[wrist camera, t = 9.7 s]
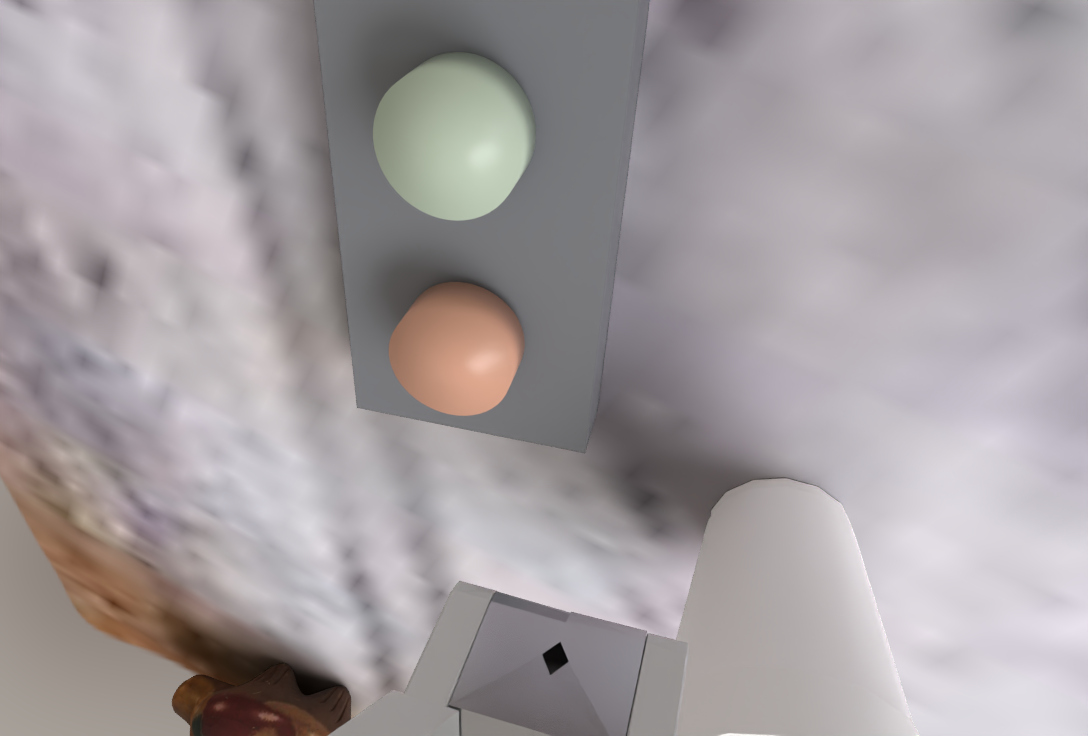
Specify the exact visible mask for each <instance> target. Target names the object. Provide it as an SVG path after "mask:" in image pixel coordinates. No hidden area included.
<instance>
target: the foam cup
mask: <svg viewBox="0 0 1088 736" xmlns="http://www.w3.org/2000/svg"><path fill="white" fill-rule="evenodd" d="M676 640H678V641H682V642H686V643H688V650H689V654H688V661H687V668H686V674H685V681H684V688H683V694H682V701H681V708H680V715H679V721H678V728H677V735H676V736H920V735H919V733H918V731H917V729H916V727H915V725H914V723H913V721H912V717H911V714H910V711H909V708H908V704H907V701H906V698H905V695H904V691H903V688H902V685H901V682H900V679H899V675H898V672H897V669H896V666H895V662H894V659H893V656H892V653H891V649H890V646H889V643H888V640H887V637H886V633H885V630H884V627H883V624H882V620H881V617H880V614H879V611H878V607H877V604H876V601H875V598H874V595H873V591H872V588H871V585H870V582H869V578H868V575H867V572H866V569H865V566H864V562H863V559H862V556H861V553H860V549H859V546H858V543H857V540H856V536H855V534H854V532H853V530H852V525H851V523H850V521H849V519H848V517H847V515H846V512H845V510H844V508H843V506H842V504H841V503H839V502H838V501H837V500H835V499H834V498H833V497H831V496H830V495H829V494H827V493H826V492H824V491H823V490H822V489H820V488H819V487H817V486H813V485H810V484H806V483H802V482H798V481H795V480H791V479H787V478H779V479H763V480H752V481H750V482H747V483H745V484H743V485H741V486H738V487H736V488H734V489H732V490H729V491H727V492H726V493H725V494H724V495H723V496H722V498H721V499H720V500H719V501H718V503H717V504H716V505H715V506H714V507H713V509H712V510H711V517H710V518H709V520H708V522H707V526H706V530H705V534H704V537H703V541H702V545H701V548H700V552H699V556H698V560H697V563H696V567H695V571H694V575H693V578H692V582H691V586H690V589H689V593H688V597H687V601H686V604H685V608H684V612H683V616H682V619H681V623H680V627H679V630H678V634H677V638H676Z"/></svg>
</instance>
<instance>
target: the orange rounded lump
mask: <svg viewBox="0 0 1088 736" xmlns="http://www.w3.org/2000/svg"><path fill="white" fill-rule="evenodd" d="M524 348H525V339H524V333H523V330H522V326H521V324H520V322H519V320H518V318H517V316H516V315H515V313H514V312H513V311H512V309H511V308H510V307H509V306H508V304H506V303H505V302H504V301H503V300H502V299H500V298H499V297H498V296H497V295H495V294H493V293H492V292H490V291H488V290H486V289H484V288H482V287H479V286H476V285H473V284H469V283H463V282H447V283H441V284H438V285H435V286H433V287H430V288H428V289H427V290H425V291H424V292H423V293H422V294H421V295H419V297H418V298H417V299H416V300H415V302H414V303H413V304H412V306H411V307H410V309H409V310H408V311H407V313H406V314H405V316H404V317H403V318H402V320H401V321H400V323H399V324H398V325H397V327H396V328H395V330H394V332H393V333H392V336H391V339H390V342H389V359H390V363H391V367H392V369H393V372H394V374H395V376H396V377H397V379H398V381H399V382H400V383H401V385H402V386H403V387H404V388H405V389H406V391H407V392H408V393H409V394H411V395H412V396H413V397H414V398H415V399H417V400H418V401H419V402H421V403H423V404H424V405H426V406H428V407H430V408H432V409H434V410H437V411H439V412H442V413H446V414H450V415H457V416H469V415H476V414H480V413H483V412H486V411H488V410H490V409H492V408H494V407H495V406H496V405H498V404H499V403H500V402H501V401H502V399H503V398H504V397H505V395H506V393H507V391H508V389H509V387H510V385H511V382H512V380H513V378H514V376H515V373H516V371H517V369H518V367H519V364H520V362H521V360H522V357H523V354H524Z"/></svg>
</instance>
